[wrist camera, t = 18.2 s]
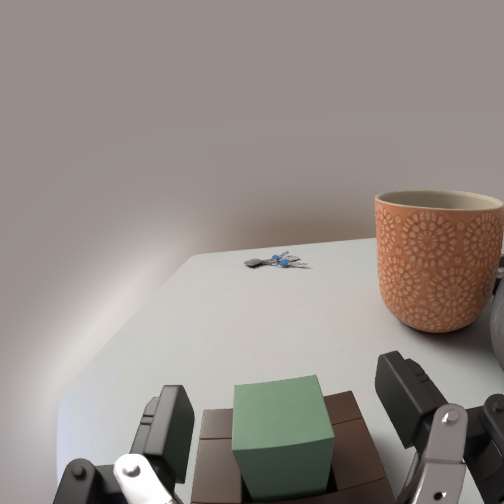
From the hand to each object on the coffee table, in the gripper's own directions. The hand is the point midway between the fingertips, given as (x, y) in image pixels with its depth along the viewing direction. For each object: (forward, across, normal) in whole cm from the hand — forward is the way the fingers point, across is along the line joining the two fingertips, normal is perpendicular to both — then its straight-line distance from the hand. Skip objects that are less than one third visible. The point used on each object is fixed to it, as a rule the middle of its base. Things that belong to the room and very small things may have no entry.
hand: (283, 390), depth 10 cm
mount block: (0, 0, +11) cm, 11 cm away
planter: (+18, -22, +12) cm, 31 cm away
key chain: (+49, -4, +11) cm, 50 cm away
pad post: (0, 0, +11) cm, 11 cm away
